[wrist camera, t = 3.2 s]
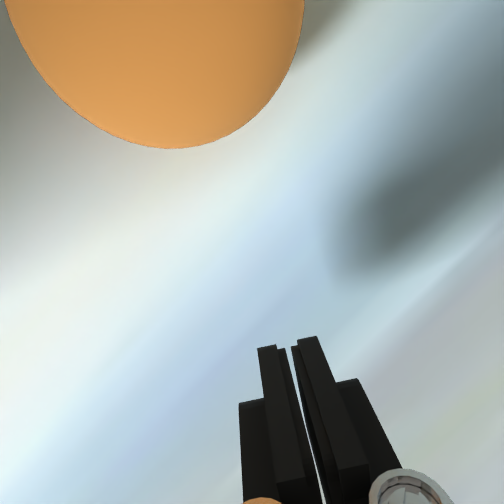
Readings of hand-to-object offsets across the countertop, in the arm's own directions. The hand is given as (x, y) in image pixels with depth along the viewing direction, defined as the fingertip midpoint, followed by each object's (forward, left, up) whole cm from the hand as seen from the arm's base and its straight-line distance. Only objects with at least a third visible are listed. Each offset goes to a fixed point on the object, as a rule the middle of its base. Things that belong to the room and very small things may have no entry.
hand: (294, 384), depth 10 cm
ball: (-1, +10, -1) cm, 10 cm away
